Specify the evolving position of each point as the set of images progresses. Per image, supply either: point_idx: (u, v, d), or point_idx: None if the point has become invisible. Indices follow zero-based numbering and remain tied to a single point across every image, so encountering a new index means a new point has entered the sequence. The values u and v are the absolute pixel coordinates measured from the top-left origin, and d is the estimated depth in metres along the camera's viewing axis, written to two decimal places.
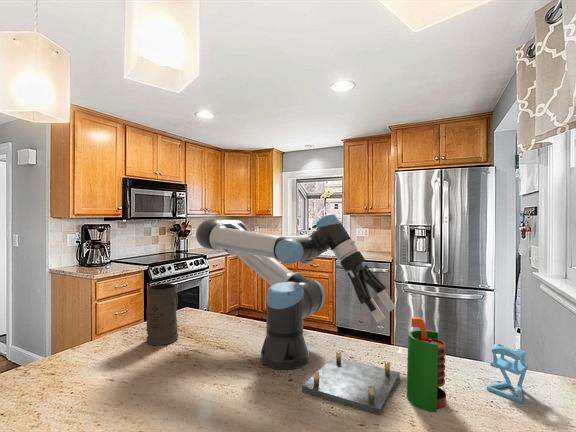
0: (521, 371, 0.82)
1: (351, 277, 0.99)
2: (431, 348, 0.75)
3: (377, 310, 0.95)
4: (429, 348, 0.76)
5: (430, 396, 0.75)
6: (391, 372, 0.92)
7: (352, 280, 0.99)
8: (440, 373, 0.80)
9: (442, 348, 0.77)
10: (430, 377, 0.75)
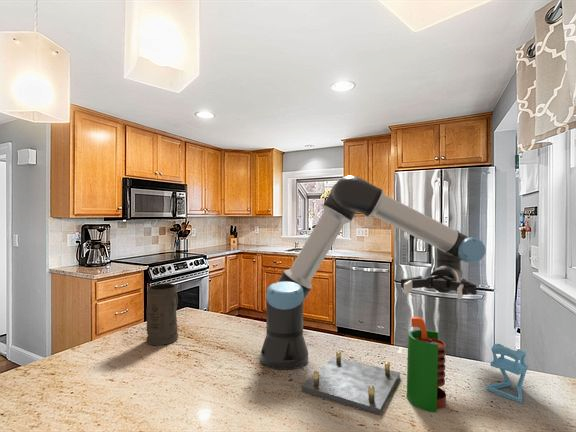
0: (521, 371, 0.82)
1: None
2: (431, 348, 0.75)
3: (462, 295, 0.87)
4: (429, 348, 0.76)
5: (430, 396, 0.75)
6: (391, 372, 0.92)
7: None
8: (440, 373, 0.80)
9: (442, 348, 0.77)
10: (430, 377, 0.75)
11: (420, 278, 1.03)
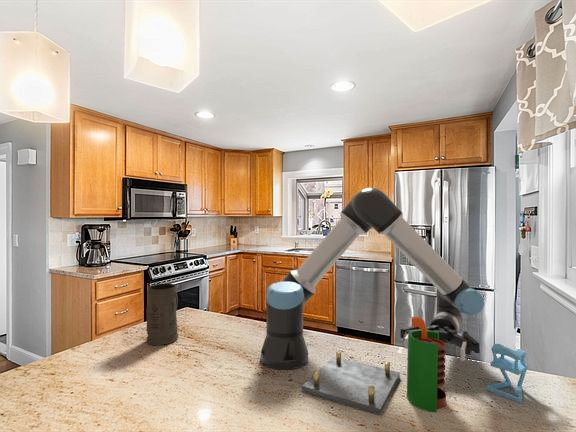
0: (521, 371, 0.82)
1: None
2: (431, 348, 0.75)
3: (465, 355, 0.83)
4: (429, 348, 0.76)
5: (430, 396, 0.75)
6: (391, 372, 0.92)
7: None
8: (440, 373, 0.80)
9: (442, 348, 0.77)
10: (430, 377, 0.75)
11: None
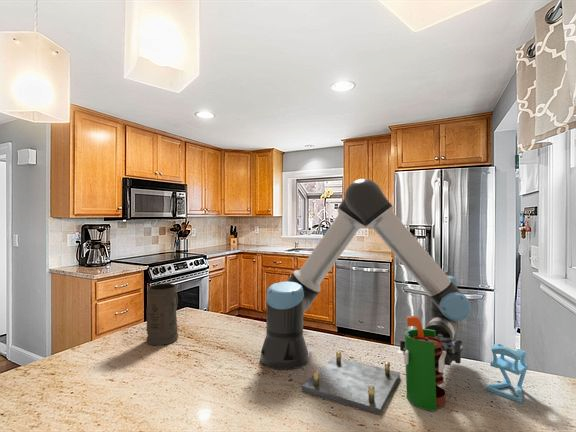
0: (521, 371, 0.82)
1: (460, 345, 0.85)
2: (427, 347, 0.76)
3: (444, 365, 0.76)
4: (425, 347, 0.76)
5: (429, 395, 0.75)
6: (391, 372, 0.92)
7: (460, 345, 0.84)
8: (438, 371, 0.80)
9: (439, 346, 0.77)
10: (428, 376, 0.76)
11: None
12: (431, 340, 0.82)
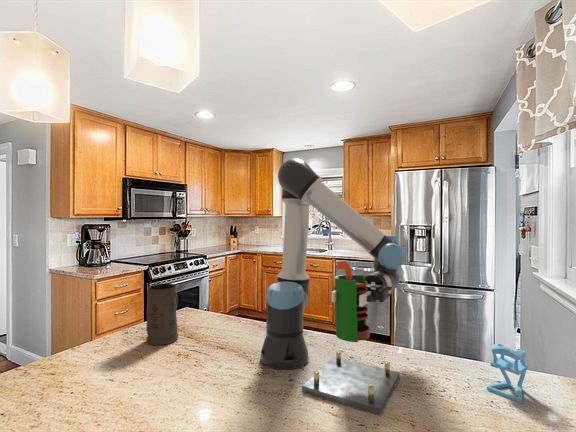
0: (521, 371, 0.82)
1: (388, 289, 0.93)
2: (350, 284, 0.83)
3: (366, 302, 0.84)
4: (349, 284, 0.84)
5: (351, 328, 0.83)
6: (391, 372, 0.92)
7: (387, 290, 0.92)
8: (364, 310, 0.87)
9: (362, 285, 0.85)
10: (351, 311, 0.83)
11: None
12: (359, 283, 0.90)
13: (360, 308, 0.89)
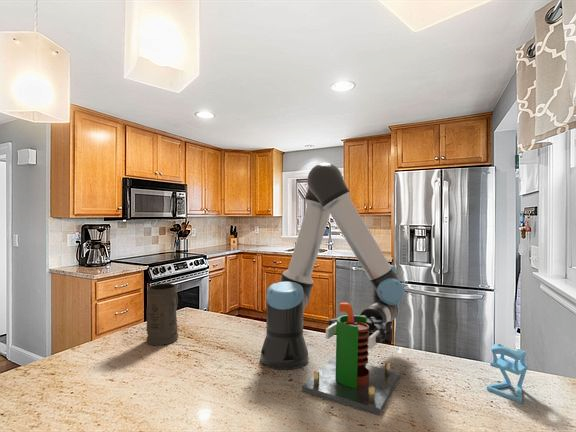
0: (521, 371, 0.82)
1: (390, 325, 0.93)
2: (352, 330, 0.83)
3: (375, 343, 0.83)
4: (350, 330, 0.83)
5: (351, 373, 0.83)
6: (391, 372, 0.92)
7: None
8: (364, 354, 0.87)
9: (364, 330, 0.85)
10: (351, 356, 0.83)
11: None
12: (361, 325, 0.89)
13: None
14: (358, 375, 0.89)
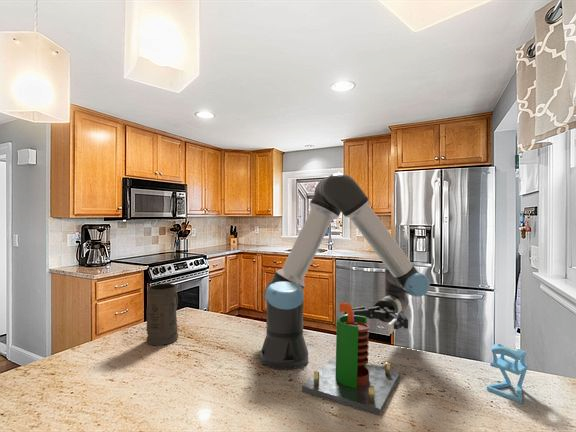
0: (521, 371, 0.82)
1: None
2: (352, 330, 0.83)
3: (393, 329, 0.94)
4: (350, 330, 0.83)
5: (351, 373, 0.83)
6: (391, 372, 0.92)
7: None
8: (364, 354, 0.87)
9: (364, 330, 0.85)
10: (351, 356, 0.83)
11: (364, 308, 1.11)
12: (361, 325, 0.89)
13: None
14: (358, 375, 0.89)
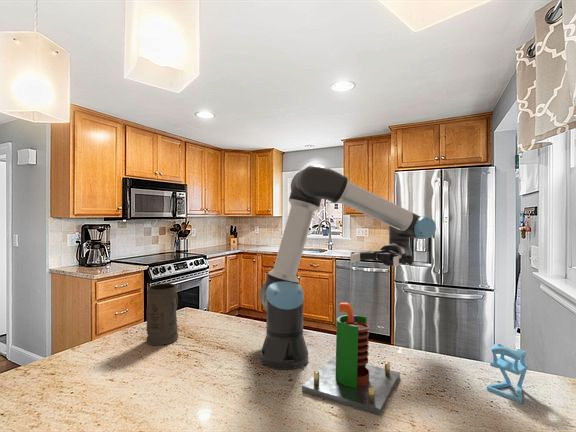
0: (521, 371, 0.82)
1: None
2: (352, 330, 0.83)
3: (398, 263, 0.99)
4: (350, 330, 0.83)
5: (351, 373, 0.83)
6: (391, 372, 0.92)
7: None
8: (364, 354, 0.87)
9: (364, 330, 0.85)
10: (351, 356, 0.83)
11: (369, 252, 1.16)
12: (361, 325, 0.89)
13: None
14: (358, 375, 0.89)
